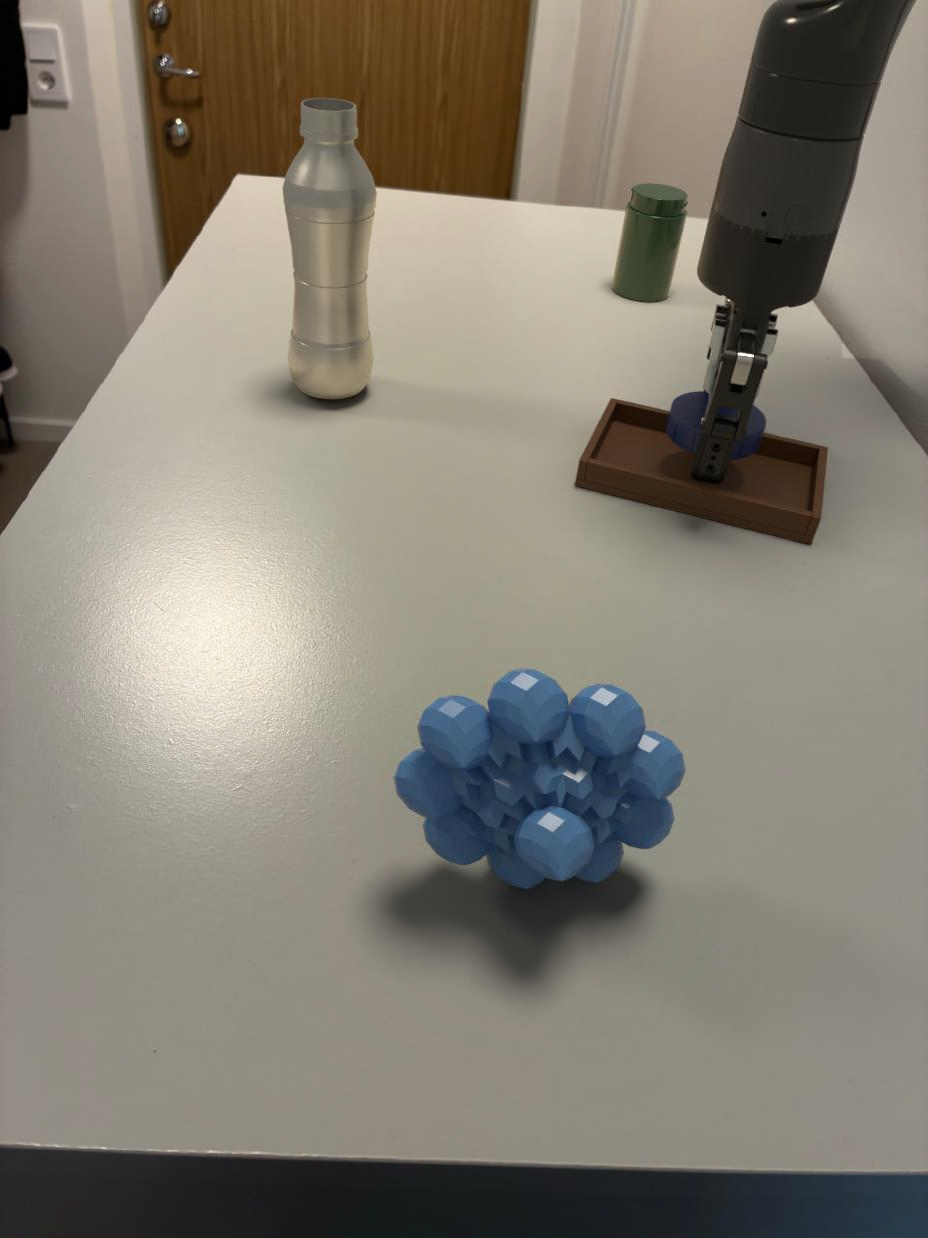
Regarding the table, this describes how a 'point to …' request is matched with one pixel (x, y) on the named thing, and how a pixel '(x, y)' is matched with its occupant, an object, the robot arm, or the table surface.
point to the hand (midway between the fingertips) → (708, 454)
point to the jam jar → (650, 242)
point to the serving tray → (661, 475)
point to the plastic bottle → (329, 252)
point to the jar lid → (688, 429)
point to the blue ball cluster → (540, 780)
